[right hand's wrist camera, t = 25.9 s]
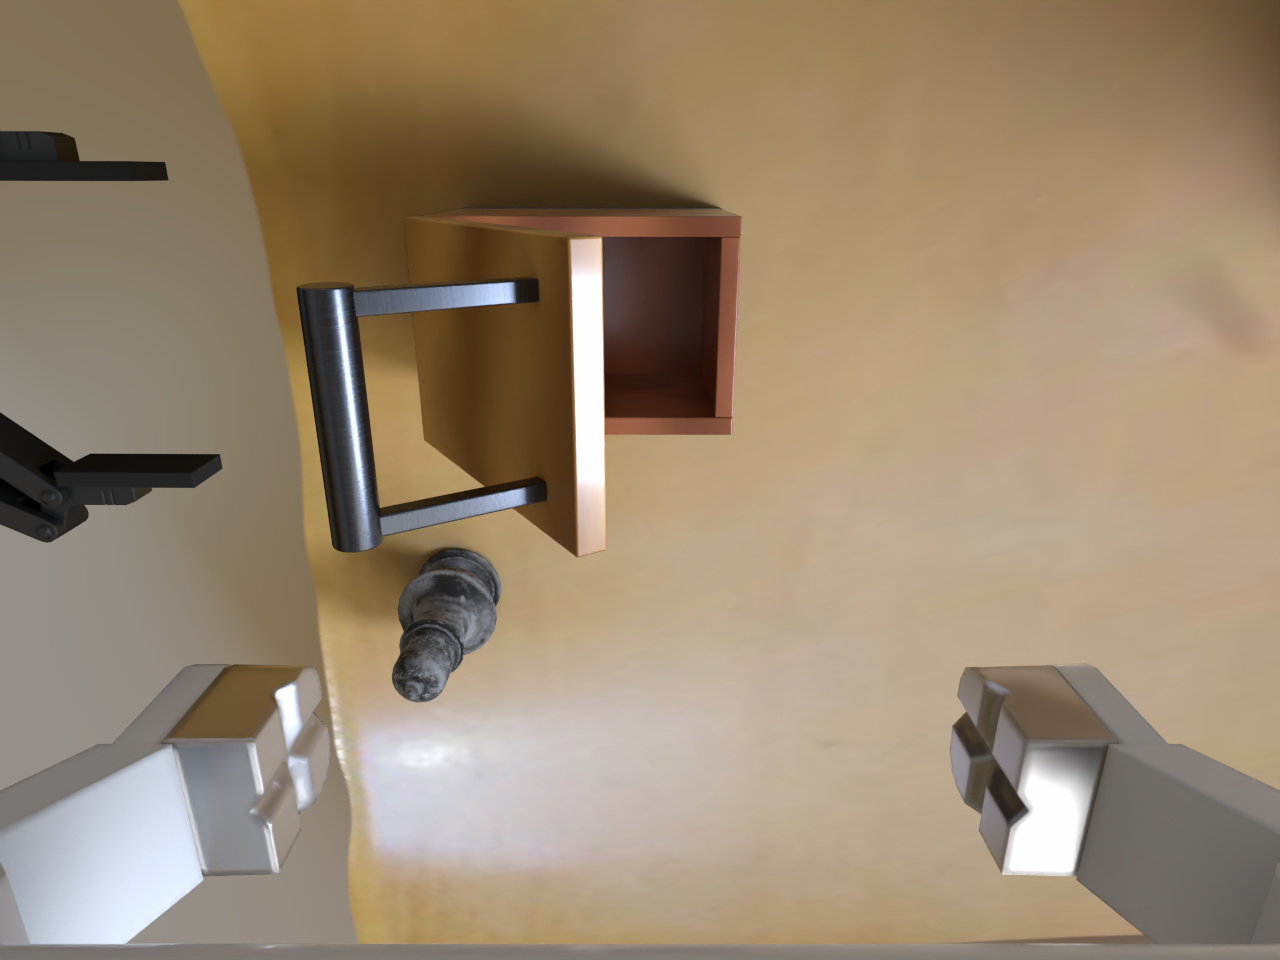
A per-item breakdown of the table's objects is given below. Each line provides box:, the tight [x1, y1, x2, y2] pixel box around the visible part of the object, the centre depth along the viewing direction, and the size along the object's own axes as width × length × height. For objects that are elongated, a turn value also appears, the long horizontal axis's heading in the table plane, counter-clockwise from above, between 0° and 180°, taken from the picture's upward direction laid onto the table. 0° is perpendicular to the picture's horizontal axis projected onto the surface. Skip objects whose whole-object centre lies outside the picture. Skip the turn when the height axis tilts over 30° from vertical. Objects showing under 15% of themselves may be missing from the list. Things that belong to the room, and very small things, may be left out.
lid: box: [297, 216, 607, 557], centre depth 29 cm, size 15×10×8 cm
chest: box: [422, 208, 741, 435], centre depth 42 cm, size 14×10×10 cm
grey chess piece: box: [392, 549, 501, 702], centre depth 47 cm, size 6×6×12 cm
